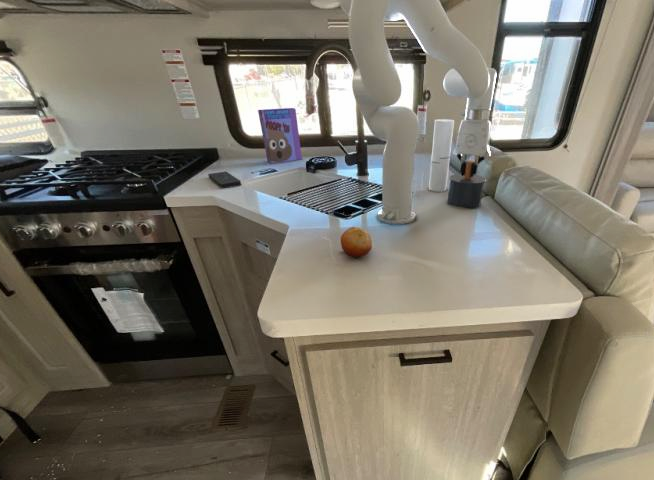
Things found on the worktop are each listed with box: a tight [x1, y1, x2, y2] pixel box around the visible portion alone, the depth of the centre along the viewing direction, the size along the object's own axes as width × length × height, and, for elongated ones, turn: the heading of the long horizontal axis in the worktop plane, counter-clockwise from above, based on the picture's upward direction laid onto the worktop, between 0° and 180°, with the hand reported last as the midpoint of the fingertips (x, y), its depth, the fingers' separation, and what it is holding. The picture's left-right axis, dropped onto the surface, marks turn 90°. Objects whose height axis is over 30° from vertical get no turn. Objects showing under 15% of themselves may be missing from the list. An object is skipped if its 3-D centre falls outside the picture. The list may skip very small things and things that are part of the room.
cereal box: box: [257, 107, 303, 165], centre depth 166 cm, size 17×5×24 cm, turn 130°
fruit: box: [340, 226, 373, 259], centre depth 83 cm, size 8×8×8 cm
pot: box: [447, 179, 485, 210], centre depth 117 cm, size 12×12×8 cm
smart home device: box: [207, 171, 242, 189], centre depth 139 cm, size 8×2×20 cm
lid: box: [449, 160, 487, 185], centre depth 113 cm, size 13×13×7 cm
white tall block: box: [428, 118, 455, 193], centre depth 126 cm, size 7×7×25 cm
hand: (468, 175), depth 113 cm, fingers closed on lid, 2 cm apart
